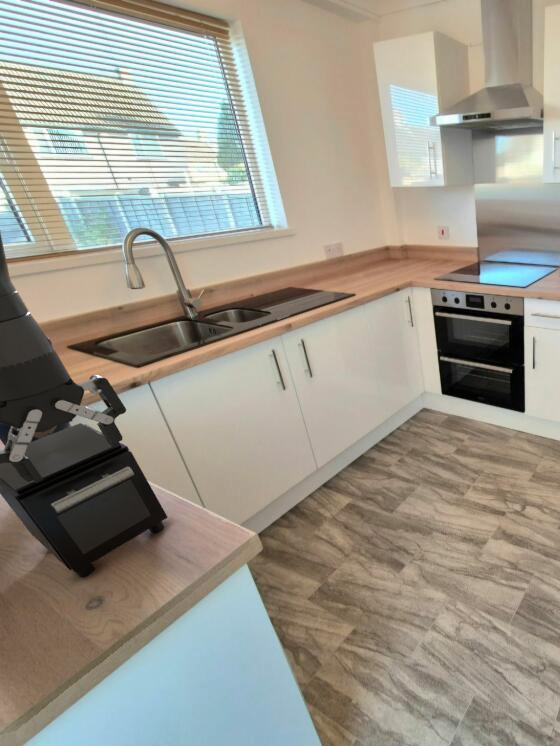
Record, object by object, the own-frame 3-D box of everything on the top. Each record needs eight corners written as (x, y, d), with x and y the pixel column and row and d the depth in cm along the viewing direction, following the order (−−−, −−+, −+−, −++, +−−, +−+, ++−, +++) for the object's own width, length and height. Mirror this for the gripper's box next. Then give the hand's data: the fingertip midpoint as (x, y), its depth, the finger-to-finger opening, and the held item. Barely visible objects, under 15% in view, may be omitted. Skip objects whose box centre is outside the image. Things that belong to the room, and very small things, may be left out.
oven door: (179, 524, 72) (142, 457, 66) (86, 583, 62) (32, 510, 56) (165, 515, 74) (128, 449, 68) (72, 570, 64) (19, 499, 58)
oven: (172, 527, 76) (125, 443, 68) (80, 584, 66) (12, 493, 58) (130, 500, 83) (83, 421, 75) (41, 547, 73) (-24, 462, 65)
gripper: (72, 332, 59) (126, 430, 67) (-88, 373, 48) (-3, 485, 56) (95, 339, 56) (149, 441, 63) (-72, 385, 45) (17, 502, 52)
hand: (78, 461), depth 59 cm, fingers open, 8 cm apart
